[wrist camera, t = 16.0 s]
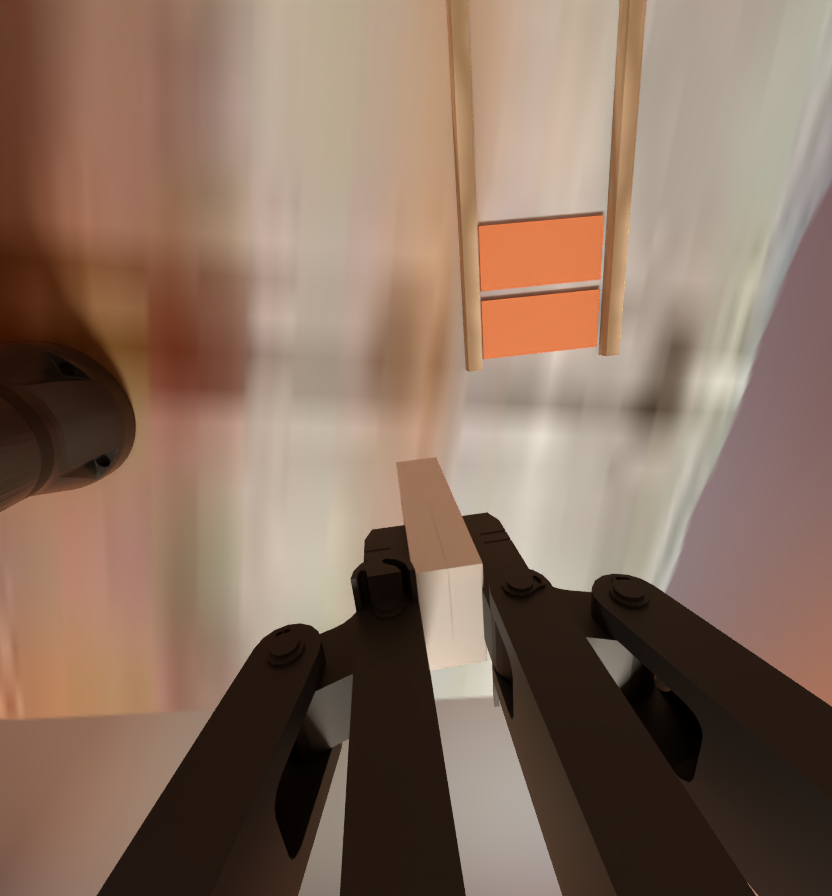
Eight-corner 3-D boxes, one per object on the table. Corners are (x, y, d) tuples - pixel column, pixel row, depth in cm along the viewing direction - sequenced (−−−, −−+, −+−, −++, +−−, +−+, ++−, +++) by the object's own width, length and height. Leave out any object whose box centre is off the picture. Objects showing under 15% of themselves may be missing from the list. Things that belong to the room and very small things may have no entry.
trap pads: (483, 358, 43) (483, 359, 42) (478, 226, 38) (478, 226, 38) (595, 346, 43) (596, 346, 43) (602, 215, 39) (604, 215, 39)
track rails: (465, 369, 43) (468, 371, 41) (440, -114, 30) (443, -135, 29) (611, 353, 44) (619, 354, 42) (644, -120, 31) (657, -141, 30)
